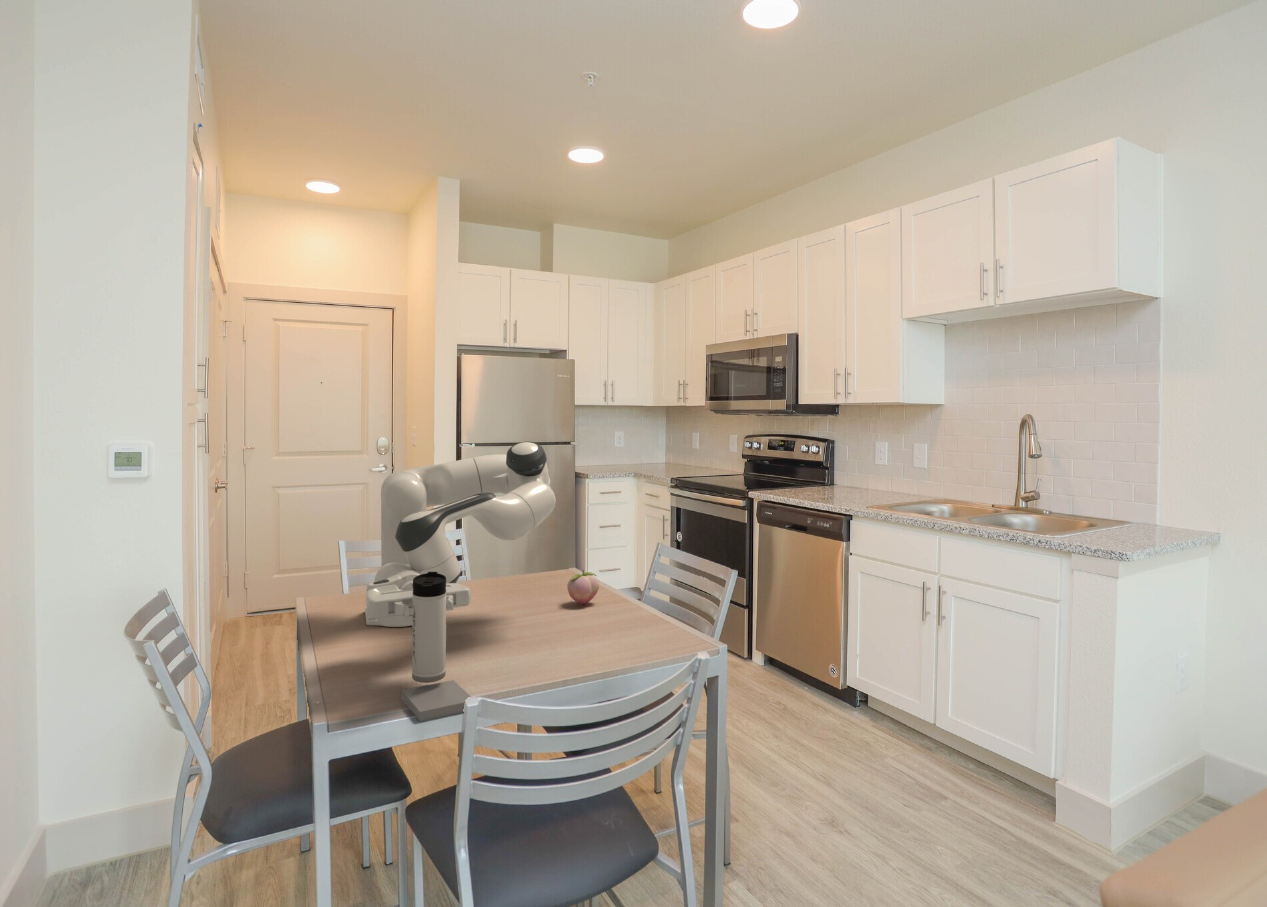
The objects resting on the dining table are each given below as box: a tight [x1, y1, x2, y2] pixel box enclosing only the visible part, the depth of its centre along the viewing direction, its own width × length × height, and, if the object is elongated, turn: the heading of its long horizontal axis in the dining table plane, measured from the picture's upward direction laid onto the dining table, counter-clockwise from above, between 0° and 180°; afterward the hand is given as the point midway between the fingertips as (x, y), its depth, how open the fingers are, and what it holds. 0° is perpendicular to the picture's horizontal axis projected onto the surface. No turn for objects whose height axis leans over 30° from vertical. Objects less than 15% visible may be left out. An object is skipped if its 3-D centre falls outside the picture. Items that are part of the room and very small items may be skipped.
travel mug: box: [411, 572, 447, 684], centre depth 139 cm, size 6×7×20 cm
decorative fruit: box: [567, 569, 600, 605], centre depth 207 cm, size 9×8×10 cm
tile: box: [401, 679, 472, 723], centre depth 134 cm, size 2×10×12 cm
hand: (430, 609), depth 138 cm, fingers closed on travel mug, 6 cm apart
